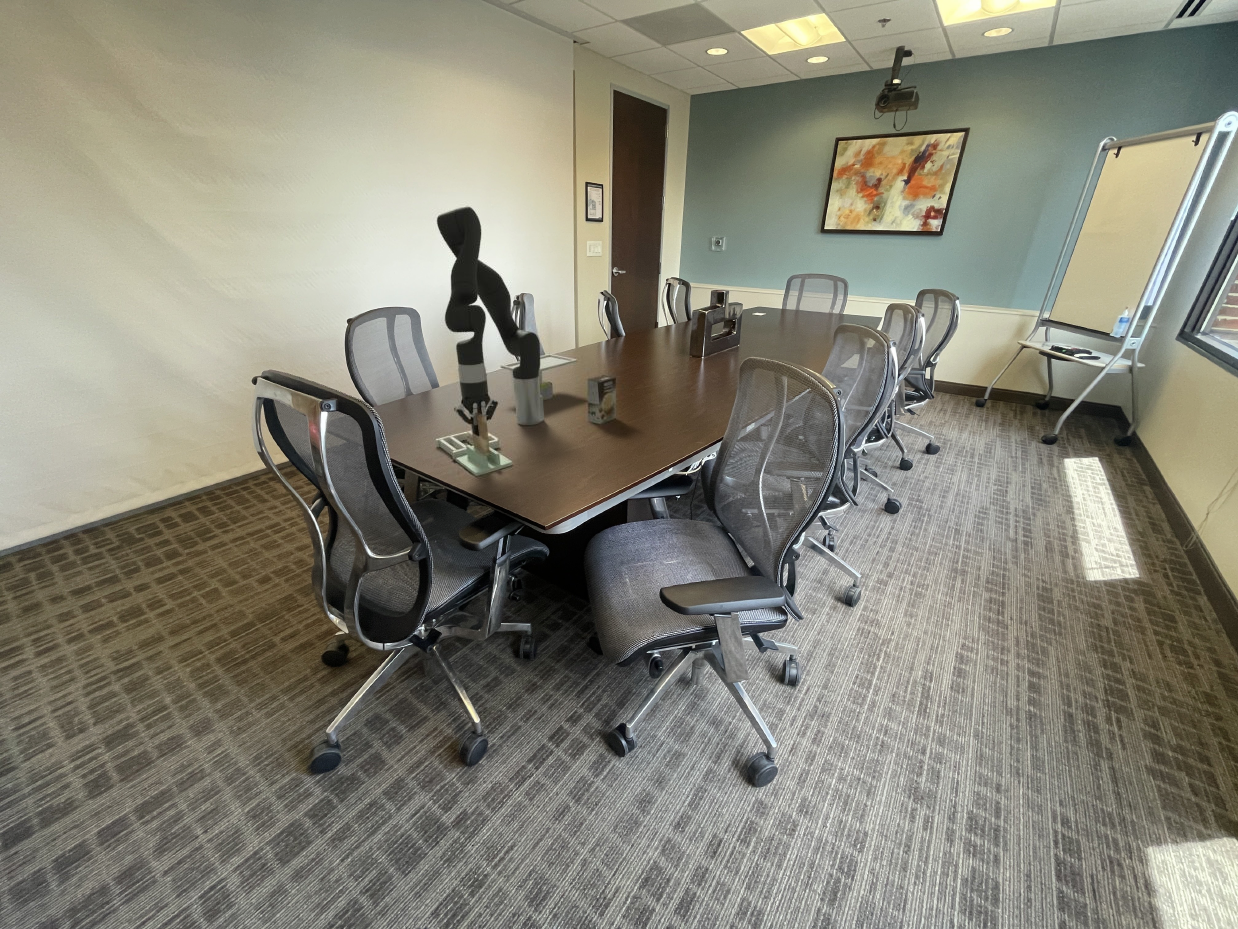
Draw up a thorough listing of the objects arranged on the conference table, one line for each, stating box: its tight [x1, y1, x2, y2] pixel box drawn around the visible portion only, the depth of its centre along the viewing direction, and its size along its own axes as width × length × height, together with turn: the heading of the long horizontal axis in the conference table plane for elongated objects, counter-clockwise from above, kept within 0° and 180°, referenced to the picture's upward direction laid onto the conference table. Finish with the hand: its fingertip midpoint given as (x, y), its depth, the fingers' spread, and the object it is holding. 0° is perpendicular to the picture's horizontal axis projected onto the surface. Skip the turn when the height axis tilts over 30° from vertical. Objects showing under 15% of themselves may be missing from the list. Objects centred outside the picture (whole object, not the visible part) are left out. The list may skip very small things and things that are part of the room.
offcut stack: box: [466, 430, 492, 446], centre depth 166 cm, size 5×9×4 cm, turn 40°
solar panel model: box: [500, 353, 578, 401], centre depth 211 cm, size 28×17×15 cm, turn 141°
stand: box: [455, 444, 514, 477], centre depth 152 cm, size 12×14×4 cm
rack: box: [435, 429, 500, 461], centre depth 164 cm, size 16×14×2 cm
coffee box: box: [587, 374, 617, 425], centre depth 185 cm, size 9×6×16 cm
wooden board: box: [470, 412, 490, 456], centre depth 149 cm, size 2×8×12 cm, turn 40°
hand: (480, 434), depth 149 cm, fingers closed on wooden board, 1 cm apart
